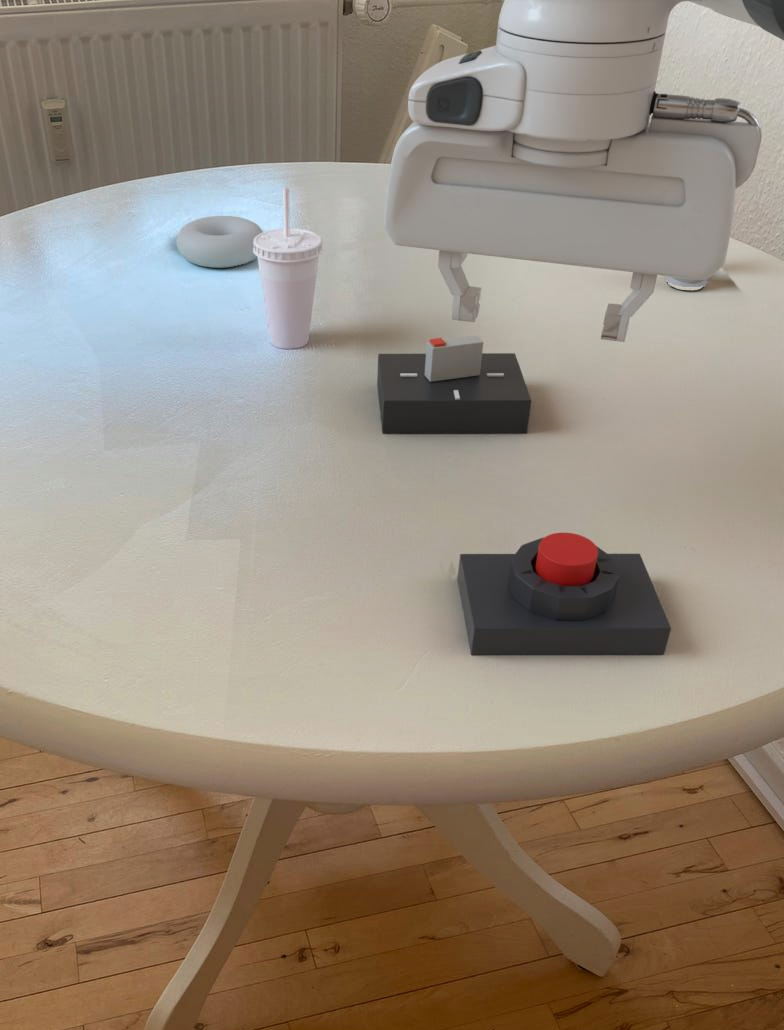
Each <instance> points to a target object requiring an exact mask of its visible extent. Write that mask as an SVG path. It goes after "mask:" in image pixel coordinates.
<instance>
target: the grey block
mask: <svg viewBox="0 0 784 1030" xmlns="http://www.w3.org/2000/svg"><path fill="white" fill-rule="evenodd" d="M483 348H484V341H483V340H482V339H481V337H479V336H478V335H469V336H461V337H453V338H445V339H443V338H442V337H437V338H436V337H435V338H430V339H429V341H427V342H426V348H425V354H426V361H425V376H426V377H427V379H428V380H429V381H430V382H434V381H441V380H449V379H456V378H463V377H471V376H478V375H480V369H481V360H482V353H483V350H484V349H483Z"/></svg>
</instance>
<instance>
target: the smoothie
mask: <svg viewBox="0 0 784 1030" xmlns="http://www.w3.org/2000/svg"><path fill="white" fill-rule="evenodd" d="M282 206H283V209H282V210H283V228H282V227H281V228H274V229H269V230H266V231H263V233H260V234H259V235H257V236H256V237H255V238H254V240H253V245H254V248H253V252H254V254H255V255H256V256H257V258H256V259H257V264H258V271H259V276H260V284H261V291H262V297H263V303H264V304H263V305H264V311H265V316H266V322H267V329H268V336H269V340H270V341H269V342H270V344H271V345H272V346H273V347H275V348H279V349H284V350H292V349H294V350H295V349H299V348H300V349H301V348H303V347H305V346H307V344H308V343H309V341H310V340H309V339H310V331H311V323H312V315H313V307H314V299H315V291H316V281H317V274H318V268H319V258H320V255H322V253H323V252H324V247H323V238H322V236H321V235H319V234H318V233H316V232H314V231H311V230H309V229H303V228H292V227H291V222H290V221H291V217H290V216H291V215H290V214H291V213H290V210H291V209H290V187H289V186H283V187H282Z"/></svg>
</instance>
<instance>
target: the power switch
mask: <svg viewBox="0 0 784 1030" xmlns="http://www.w3.org/2000/svg"><path fill="white" fill-rule="evenodd" d="M543 538H544V537H541V538H538V539H535V540H532V541H529V542H526V543H524V544H522V545H521V546H519V548H518V550H517V551H516V552H515V553H460V554H459V559H458V570H457V580H456V581H457V586H458V593H459V596H460V602H461V607H462V614H463V618H464V619H463V620H464V624H465V630H466V636H467V640H468V644H469V645H468V646H469V651H470V655H471V656H664V655H665V653H666V649H667V646H668V642H669V638H670V634H671V631H672V627H671V625H670V622H669V620H668V617H667V615H666V613H665V610H664V608H663V605H662V603H661V601H660V599H659V595H658V594H657V592H656V589H655V586H654V584H653V582H652V579H651V577H650V574H649V572H648V569H647V568H646V565H645V562H644V561H643V560H644V559H643V558H642V556H641V553H607V552H605V551H604V550H603V549H602V548H600V547H599V546H597V545H596V547H597V549H598V557H597V561H596V566H595V571H594V576H593V578H592V580H591V581H590V582H589V583H588V584H585V585H583V586H560V585H557V584H554V583H551V582H548V581H545V580H543V579H542V578H541V577H540V576H538V574H537V572H536V561H537V555H538V549H539V544H540V542H541V540H542V539H543Z"/></svg>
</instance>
